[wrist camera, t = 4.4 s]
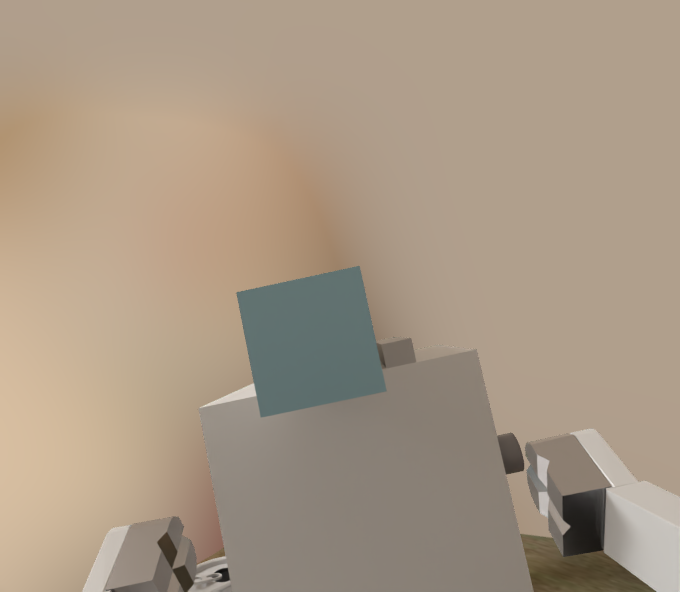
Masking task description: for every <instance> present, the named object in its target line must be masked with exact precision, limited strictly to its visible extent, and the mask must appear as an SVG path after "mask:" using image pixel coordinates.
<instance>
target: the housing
mask: <svg viewBox="0 0 680 592" xmlns="http://www.w3.org/2000/svg"><path fill="white" fill-rule="evenodd" d="M376 344H377V349H378V353H379V358H380V362H381V367H382V372H383V376H384V381H385V385H386V390H387V391H386V392H381V393H376V394H372V395H367V396H362V397H357V398H353V399H348V400H343V401H338V402H334V403H329V404H324V405H319V406H314V407H310V408H305V409H300V410H295V411H291V412H286V413H281V414H276V415H272V416H267V417H262V418H261V417H260V411H259V406H258V401H257V396H256V391H255V386H254V384H251V385H249V386H246V387H244V388H242V389H240V390H238V391H235V392H233V393H231V394H229V395H226V396H224V397H222V398H220V399H218V400H216V401H213V402H211V403H209V404H207V405H204V406H202V407H200V408H199V413H200V418H201V424H202V429H203V435H204V440H205V445H206V451H207V457H208V462H209V468H210V473H211V479H212V484H213V489H214V495H215V500H216V505H217V511H218V517H219V521H220V527H221V533H222V538H223V544H224V549H225V555H226V560H227V566H228V571H229V577H230V582H231V588H232V592H534V591H533V587H532V583H531V579H530V574H529V570H528V566H527V562H526V557H525V553H524V549H523V545H522V540H521V536H520V532H519V528H518V523H517V519H516V515H515V511H514V506H513V503H512V498H511V494H510V489H509V485H508V481H507V477H506V474H511V473H515V472H520V471H523V470H524V460H523V456H522V452H521V449H520V446H519V444H518V441H517V439H516V437H515V436H514V434H513V433H508V434H503V435H498V436H497V434H496V430H495V426H494V421H493V417H492V413H491V408H490V404H489V400H488V396H487V391H486V387H485V383H484V379H483V374H482V370H481V366H480V362H479V357H478V353H477V350H476V349H468V348H460V347H452V346H443V345H434V346H430V347H425V348H420V349H416V350H414V349H413V344H412V340H411V338H397V337H393V338H388V339H383V340H379V341H376Z"/></svg>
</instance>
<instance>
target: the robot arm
mask: <svg viewBox="0 0 680 592" xmlns="http://www.w3.org/2000/svg"><path fill="white" fill-rule="evenodd" d="M525 451H526V457H527V459H528V461H529V462H530V464H531V465H530V466H529V468H528V469H527V480H528V484H529V489H530V492H531V495H532V498H533V500H534V503H535V505H536V507H537V509H538V510H539V512H540V513H541V514H542V515H544V516H546V517H547V518H548V522H549V531H550V533H551V535H552V537H553V539H554V541H555V542H556V544H557V546H558V548H559V550H560V552H561V553H562V555H563V557H566V556H572V555H578V554H584V553H590V552H596V551H601V550H604V553H605V554H607V555H608V556H610V557H611V558H612V559H614V560H615V561H616V562H618V563H619V564H620V565H622V566H623V567H624V568H626V569H627V570H628V571H630V572H631V573H632V574H634V575H635V576H636V577H638V578H639V579H641V580H642V581H643V582H645V583H646V584H647V585H649V586H650V587H651V588H653V589H654V590H655V591H657V592H680V497H679V496H677V495H675V494H673V493H671V492H669V491H667V490H664V489H663V488H660V487H658V486H656V485H654V484H652V483H650V482H648V481H640V482H639V481H638V480H637V479H636V478H635V476H634V475H633V474H632V473H631V471H630V470H629V469H628V468H627V467H626V465H625V464H624V463H623V462H622V461H621V459H620V458H619V457H618V456H617V455H616V453H615V452H614V451H613V450H612V448H611V447H610V446H609V445H608V444H607V442H606V441H605V440H604V439H603V437H602V436H601V435H600V434H599V432H598V431H597V430H595V429H593V428H591V429H586V430H582V431H577V432H573V433H570V434H564V435H559V436H554V437H550V438H545V439H540V440H536V441H531V442H527V443H526V447H525ZM183 528H184V526H183V524H182V523H181V520H180V519H179V517H169V518H163V519H158V520H152V521H147V522H141V523H136V524H132V525H127V526H121V527H116V528H112V529H111V530H110V531H109V532H108V533H107V535H106V537H105V539H104V541H103V544H102V546H101V548H100V551H99V553H98V556H97V558H96V560H95V563H94V565H93V567H92V570H91V572H90V574H89V577H88V579H87V581H86V584H85V586H84V589H83V591H82V592H188V591H189V589H190V588H191V587H192V586H193V584H194V581H195V576H196V553H195V549H194V546H193V544H192V542H191V540H190V539H188V538H186V537H184V536H182V532H183Z"/></svg>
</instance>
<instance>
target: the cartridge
mask: <svg viewBox="0 0 680 592" xmlns="http://www.w3.org/2000/svg"><path fill="white" fill-rule="evenodd" d="M237 298H238V303H239V308H240V313H241V319H242V323H243V329H244V334H245V339H246V344H247V349H248V354H249V359H250V365H251V370H252V375H253V380H254V386H255V391H256V396H257V401H258V406H259V411H260V417H261V418H262V417H267V416H272V415H276V414H281V413H286V412H291V411H295V410H300V409H305V408H310V407H314V406H319V405H324V404H329V403H334V402H338V401H343V400H348V399H353V398H357V397H362V396H367V395H372V394H376V393H381V392H386V391H387V390H386V385H385V381H384V376H383V372H382V367H381V362H380V358H379V353H378V349H377V344H376V340H375V335H374V331H373V326H372V321H371V317H370V312H369V308H368V303H367V298H366V293H365V289H364V284H363V280H362V275H361V271H360V267H359V266H357V267H352V268H348V269H343V270H338V271H334V272H329V273H324V274H320V275H315V276H310V277H306V278H301V279H296V280H292V281H287V282H283V283H278V284H274V285H269V286H264V287H260V288H255V289H250V290H246V291H241V292H237Z"/></svg>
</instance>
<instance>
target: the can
mask: <svg viewBox="0 0 680 592" xmlns="http://www.w3.org/2000/svg"><path fill="white" fill-rule="evenodd" d="M188 592H232V588H231V582H230V577H229V571H228V566H227V560H226V556H224V557H220V558H216V559H212V560H209V561H206V562H203V563H201V564H199V565H197V566H196V576H195V581H194V584H193V586H192V587H191V588H190V589H189V591H188Z"/></svg>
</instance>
